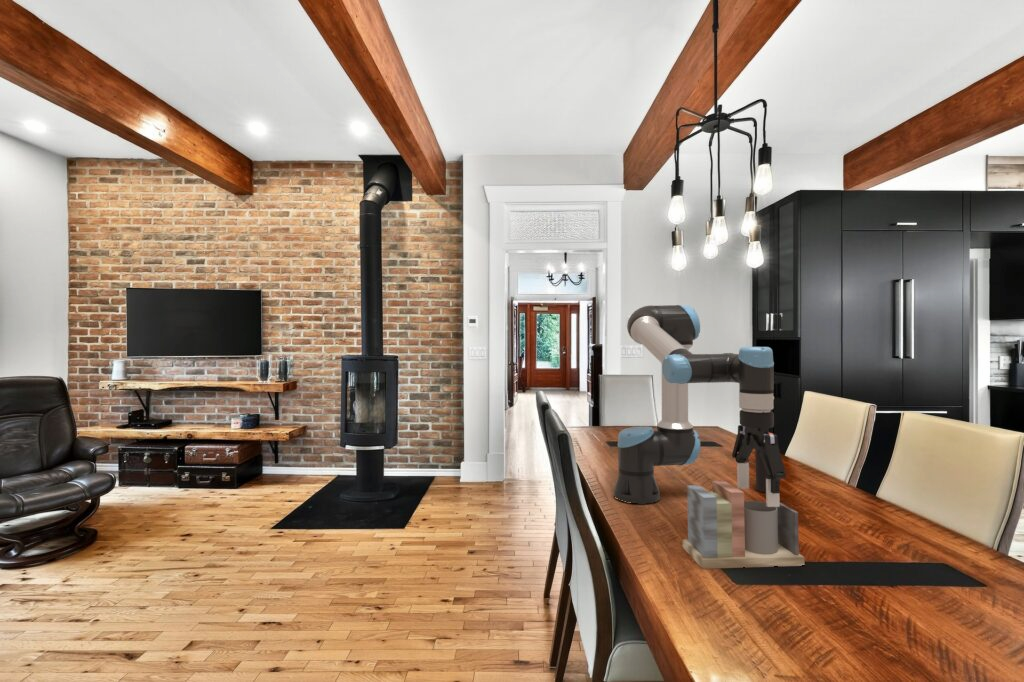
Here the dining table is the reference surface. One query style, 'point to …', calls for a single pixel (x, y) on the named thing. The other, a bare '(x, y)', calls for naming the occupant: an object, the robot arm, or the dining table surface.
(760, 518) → the cup
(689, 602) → the dining table surface
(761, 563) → the pastel book stand
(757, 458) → the bottle
